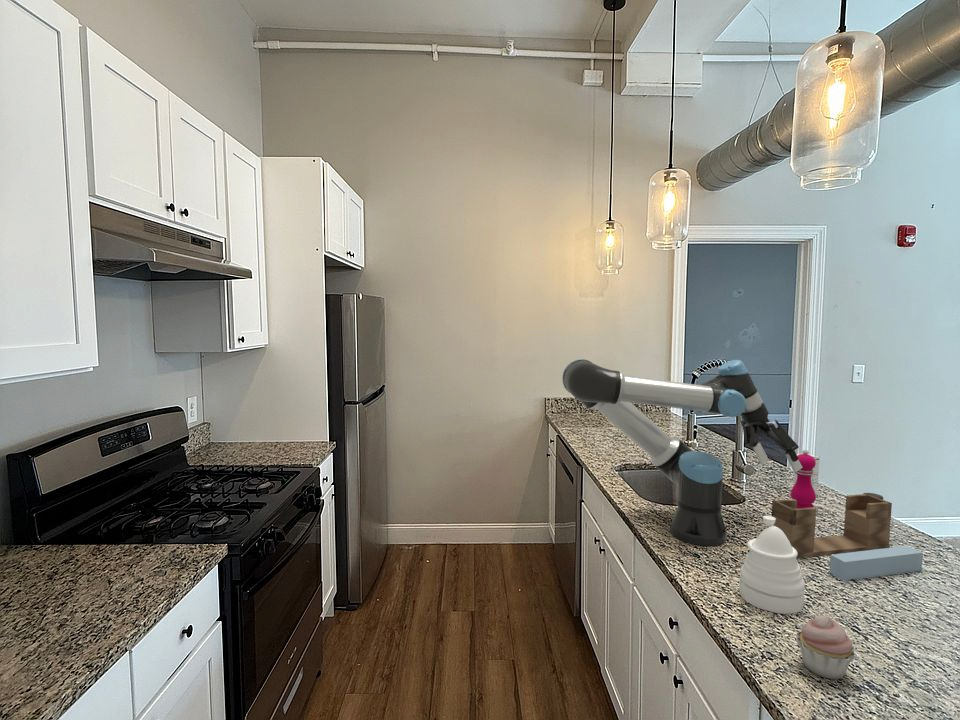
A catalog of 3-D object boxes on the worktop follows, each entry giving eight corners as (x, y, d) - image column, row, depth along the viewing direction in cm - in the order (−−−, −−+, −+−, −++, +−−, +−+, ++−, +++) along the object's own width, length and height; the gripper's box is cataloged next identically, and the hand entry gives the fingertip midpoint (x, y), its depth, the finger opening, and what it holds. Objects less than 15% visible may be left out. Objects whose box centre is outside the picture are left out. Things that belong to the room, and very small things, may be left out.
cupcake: (848, 694, 89) (852, 638, 88) (787, 667, 95) (790, 615, 95) (861, 669, 95) (864, 616, 94) (802, 645, 102) (805, 596, 101)
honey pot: (728, 584, 125) (731, 511, 124) (779, 582, 126) (783, 510, 125) (760, 614, 112) (764, 533, 111) (817, 612, 113) (822, 532, 112)
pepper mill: (790, 510, 173) (793, 451, 172) (789, 503, 180) (792, 446, 178) (816, 514, 170) (819, 453, 168) (814, 507, 176) (817, 448, 175)
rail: (843, 581, 127) (844, 562, 127) (829, 574, 131) (830, 554, 131) (921, 571, 132) (922, 552, 132) (905, 564, 136) (906, 545, 136)
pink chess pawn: (792, 493, 190) (794, 454, 189) (802, 491, 193) (804, 452, 191) (808, 498, 185) (810, 458, 184) (818, 495, 188) (820, 456, 186)
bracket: (791, 558, 139) (793, 510, 138) (769, 545, 146) (771, 500, 145) (889, 549, 144) (892, 503, 143) (863, 537, 152) (866, 493, 151)
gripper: (791, 402, 152) (823, 466, 153) (733, 399, 176) (761, 454, 177) (771, 415, 150) (804, 479, 151) (716, 410, 175) (744, 465, 176)
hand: (781, 466), depth 164 cm, fingers open, 13 cm apart
